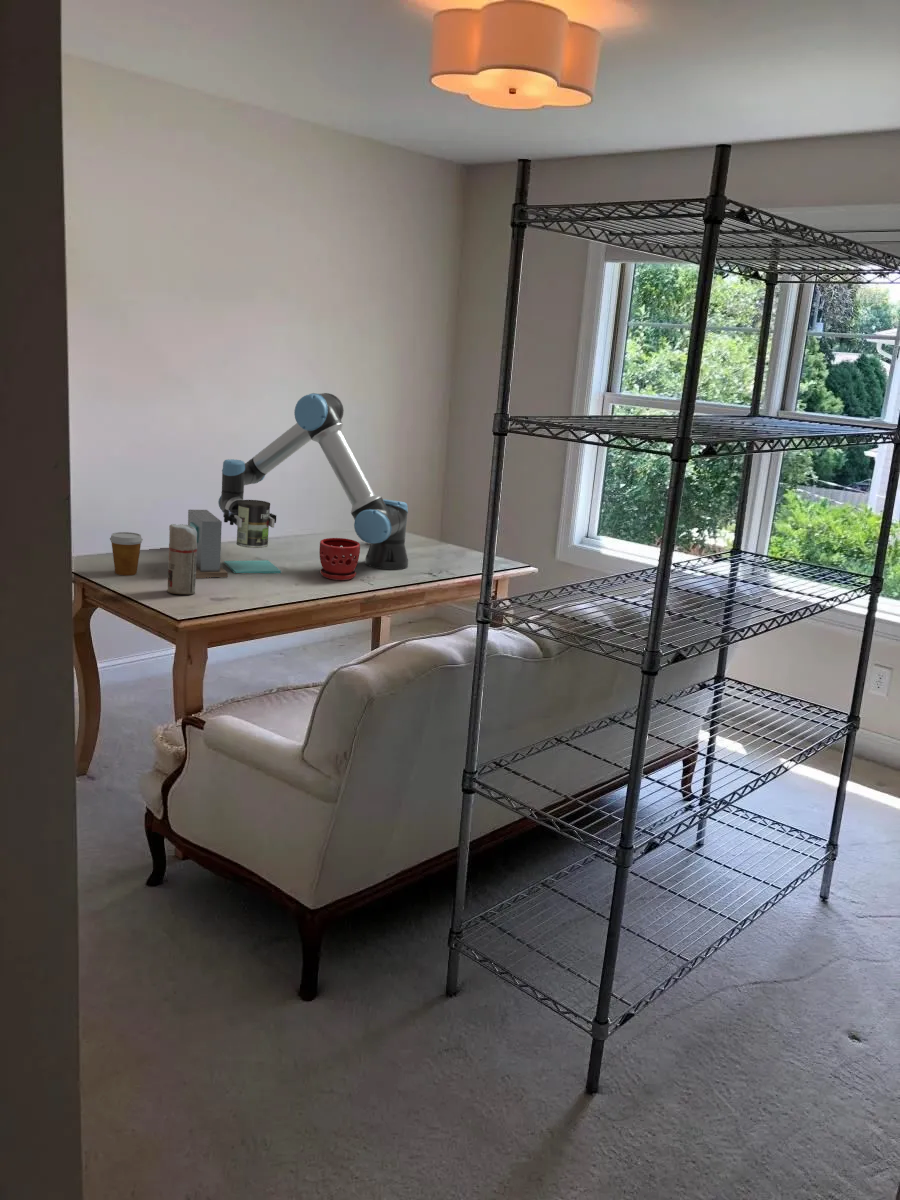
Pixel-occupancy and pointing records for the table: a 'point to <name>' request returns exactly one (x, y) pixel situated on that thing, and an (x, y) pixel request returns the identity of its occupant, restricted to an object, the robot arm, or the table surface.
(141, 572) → the table surface
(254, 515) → the coffee can
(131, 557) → the disposable coffee cup
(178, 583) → the spray can
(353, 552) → the plant pot
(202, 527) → the mounted unit
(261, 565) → the pad
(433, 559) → the table surface
